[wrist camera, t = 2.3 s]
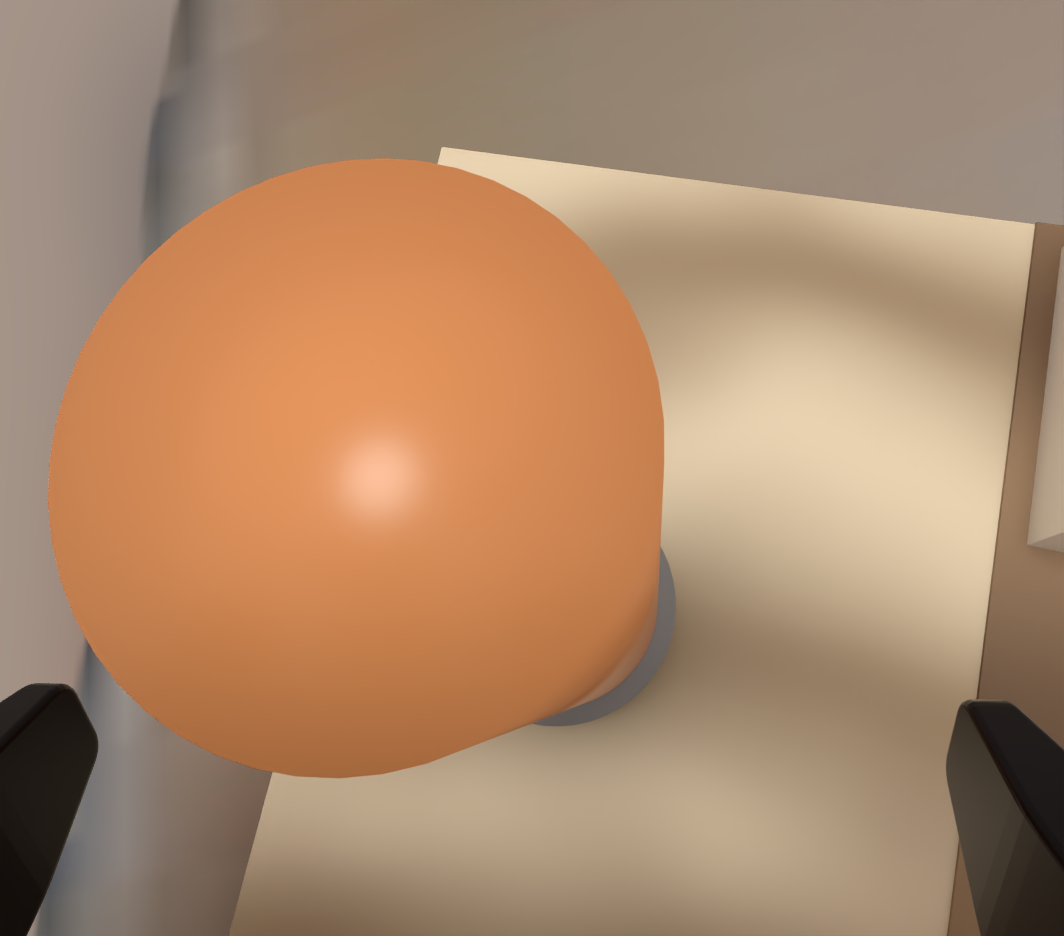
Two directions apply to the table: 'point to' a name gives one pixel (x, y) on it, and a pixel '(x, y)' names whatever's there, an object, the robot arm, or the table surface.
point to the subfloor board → (752, 598)
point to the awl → (366, 475)
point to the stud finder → (1051, 442)
